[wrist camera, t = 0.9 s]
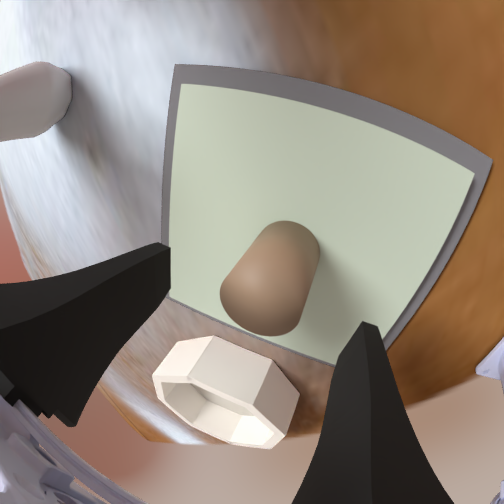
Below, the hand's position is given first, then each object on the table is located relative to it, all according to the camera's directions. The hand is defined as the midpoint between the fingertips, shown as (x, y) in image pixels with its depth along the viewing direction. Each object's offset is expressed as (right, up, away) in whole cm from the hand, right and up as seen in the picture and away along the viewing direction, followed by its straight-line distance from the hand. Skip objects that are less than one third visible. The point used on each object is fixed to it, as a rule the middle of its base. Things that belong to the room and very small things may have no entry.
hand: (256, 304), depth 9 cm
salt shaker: (-14, +14, +5) cm, 20 cm away
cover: (+2, +2, +4) cm, 5 cm away
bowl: (-2, -9, +13) cm, 16 cm away
